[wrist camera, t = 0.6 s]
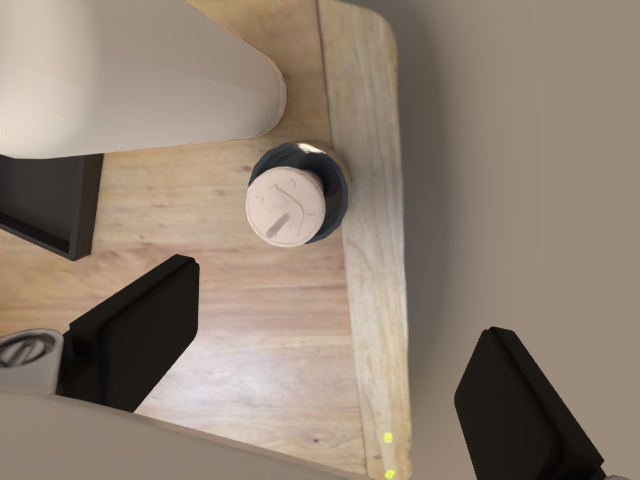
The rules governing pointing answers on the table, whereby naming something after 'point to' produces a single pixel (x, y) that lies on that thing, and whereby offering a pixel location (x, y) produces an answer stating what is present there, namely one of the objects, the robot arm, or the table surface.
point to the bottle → (127, 78)
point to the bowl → (324, 165)
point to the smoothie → (286, 206)
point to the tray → (51, 201)
